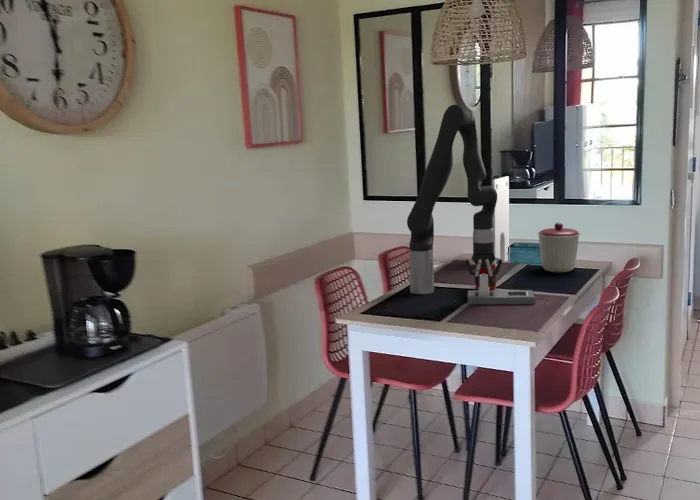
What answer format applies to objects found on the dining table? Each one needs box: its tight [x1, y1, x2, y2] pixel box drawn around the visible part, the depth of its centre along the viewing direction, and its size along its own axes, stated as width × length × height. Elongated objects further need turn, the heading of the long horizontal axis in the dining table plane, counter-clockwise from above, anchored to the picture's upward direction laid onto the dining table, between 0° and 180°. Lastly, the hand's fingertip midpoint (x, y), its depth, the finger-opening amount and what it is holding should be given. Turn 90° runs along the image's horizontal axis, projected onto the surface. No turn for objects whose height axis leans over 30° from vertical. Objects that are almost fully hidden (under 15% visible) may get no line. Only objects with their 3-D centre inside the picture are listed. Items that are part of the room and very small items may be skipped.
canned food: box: [474, 261, 497, 290], centre depth 276 cm, size 8×8×11 cm
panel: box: [467, 289, 536, 305], centre depth 258 cm, size 24×11×3 cm, turn 80°
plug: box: [477, 273, 490, 296], centre depth 258 cm, size 4×4×10 cm
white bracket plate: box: [471, 175, 510, 266], centre depth 323 cm, size 20×14×40 cm
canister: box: [536, 222, 581, 273], centre depth 302 cm, size 18×18×21 cm
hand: (483, 285), depth 258 cm, fingers open, 3 cm apart
